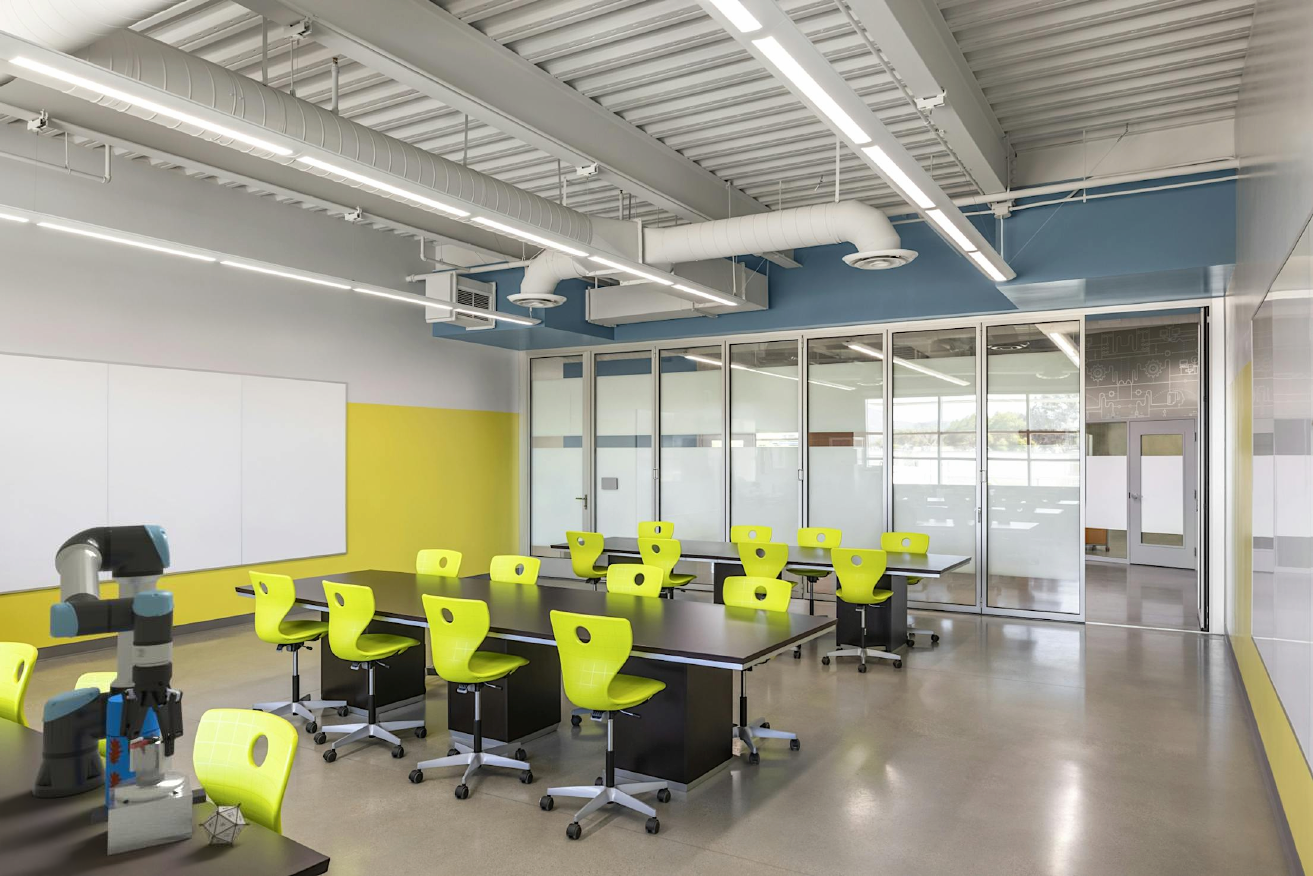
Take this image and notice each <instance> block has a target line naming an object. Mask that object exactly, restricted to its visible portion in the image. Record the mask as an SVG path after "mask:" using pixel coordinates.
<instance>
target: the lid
mask: <svg viewBox="0 0 1313 876" xmlns="http://www.w3.org/2000/svg"><path fill="white" fill-rule="evenodd" d="M162 740H163V739H162V737H160V738H159V735H151V736H146V737H144V738H143V740H140V741H138V742H135V743H132V744H130V749H136V776H135V777H132V778H129V779H126V780H124V781H122V782H120V783H118V784H117V785H116V786H115V793H114V798H115V800H116V801H119V802H124V803H138V802H146V801H152V800H157V799H161V798H164V797H168V796H170V795H173V794H175V793H177V792H179V791H181V790H182V789H183V788H184V787H185V775H186V774H184V773H183V772H178V771H172V770H169V771H167V772H164V773H162V774H160V773H159V743H160V741H162Z"/></svg>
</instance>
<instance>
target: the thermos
mask: <svg viewBox="0 0 1313 876" xmlns="http://www.w3.org/2000/svg"><path fill="white" fill-rule="evenodd" d="M136 700H137V698H136ZM122 704H123V700H122V695H121V694H119V695H116V696H113V697H111V698H109V699H108V703H107V722H106V739H105V770H106V773H105V783H104V784H105V786H104V796H105V798H104V799H105V806H109V788H113V787H115V786H116V785H117V784H118V783H120V782H122V781H124V780H126V779H129V778H132V777H135V776H136V770H135V771H133V772H130V754H128V740H127V738H126V737H124V736H123V737H121V736H120V734H119V733H120V724H121V714H122ZM159 707H160V706H159ZM126 729H127V728H126ZM141 733H142V734H143V735H142V736H139V737H143V738H144V737H146V736H151V735H159V738H161V737H160V734H161V732H160V728H159V724H158V721H157V717H156V713H155V712H153V710H152V707H150V708H149V709H148V712H147V715H146V718H145V721H144V724H143V727H142V730H141ZM139 737H138V738H139Z"/></svg>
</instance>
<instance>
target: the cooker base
mask: <svg viewBox="0 0 1313 876" xmlns="http://www.w3.org/2000/svg"><path fill="white" fill-rule="evenodd" d="M184 775H185V787H184V788H183V789H182V790H181V791H179V792H177V793H175V794H173V795H170V796H168V797H164V798H161V799H157V800H152V801H146V802H138V803H124V802H119V801H116V800H115V798H114V793H115V787H113V788H109V806H106V805H105V806H99V807H94V808H91V813H90V814H91V815H90V825H96V824H101V823H105V822H107V827H108V828H107V856H111V855H116V854H121V853H126V852H131V851H134V850H140V849H145V848H151V847H155V846H158V845H164V844H169V843H173V842H177V841H178V842H179V841H184V840H188V839H192V838H193V806H194V805H200V804H203V803H204V804H205V803H207V792H206V789H205V787H204V788H203V787H202V788H198V789H193V790H192V787H191V783H190V778H189V774H184Z"/></svg>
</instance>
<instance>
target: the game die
mask: <svg viewBox="0 0 1313 876" xmlns="http://www.w3.org/2000/svg"><path fill="white" fill-rule="evenodd" d="M215 805H216V808H215V809H214V810H213V811H212V812H211V814H210V815H209V816H208V817H207V819H206V820H205V821H204V822H203V823H198V826H199V827H203V829H204V832H205V834H206V836H207V837H208V838H207V839H208V841H209V843H208V844H207V848H209V847H211V846H212V844H230V847H232V848H233V847H234V843H233V842H234V841H235V839H237V837H238V836H239V835H240V834H241V832H242V831H243V829H244V828H245V827H246V826H250V825H251V823H250V822H246V820H245V817H244V815H243V813H242V811H241V809H240V807H241V806H242V802H239V803H238V804H237V805H220V804H219V802H216V803H215Z"/></svg>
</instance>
